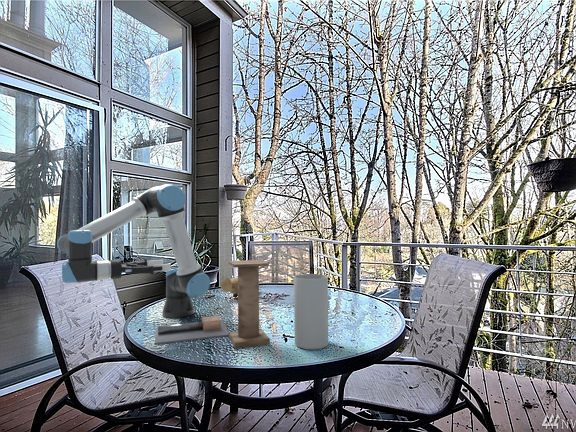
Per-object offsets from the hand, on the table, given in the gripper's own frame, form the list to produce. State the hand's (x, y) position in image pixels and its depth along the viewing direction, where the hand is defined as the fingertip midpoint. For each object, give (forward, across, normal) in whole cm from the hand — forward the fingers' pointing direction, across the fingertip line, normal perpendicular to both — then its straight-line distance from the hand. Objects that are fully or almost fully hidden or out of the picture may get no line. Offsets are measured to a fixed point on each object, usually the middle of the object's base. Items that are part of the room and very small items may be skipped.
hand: (166, 264), depth 142 cm
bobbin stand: (+24, +30, -27) cm, 47 cm away
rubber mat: (+8, +7, -28) cm, 30 cm away
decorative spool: (+53, -44, -30) cm, 76 cm away
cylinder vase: (+41, +47, -27) cm, 68 cm away
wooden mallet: (+7, +7, -27) cm, 29 cm away
